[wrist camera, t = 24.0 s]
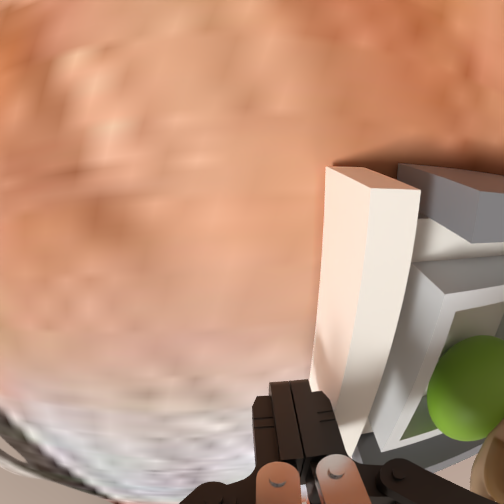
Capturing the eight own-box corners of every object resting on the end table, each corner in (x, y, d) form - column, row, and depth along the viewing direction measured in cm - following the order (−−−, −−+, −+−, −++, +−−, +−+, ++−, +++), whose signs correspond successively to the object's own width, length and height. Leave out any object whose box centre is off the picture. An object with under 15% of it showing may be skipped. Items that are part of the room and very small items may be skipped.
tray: (325, 166, 11) (370, 188, 7) (566, 192, 12) (609, 211, 8) (299, 444, 17) (309, 496, 13) (496, 391, 18) (519, 422, 14)
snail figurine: (380, 398, 14) (456, 590, 3) (455, 302, 12) (603, 492, 1) (437, 406, 16) (509, 550, 5) (501, 327, 13) (611, 465, 2)
